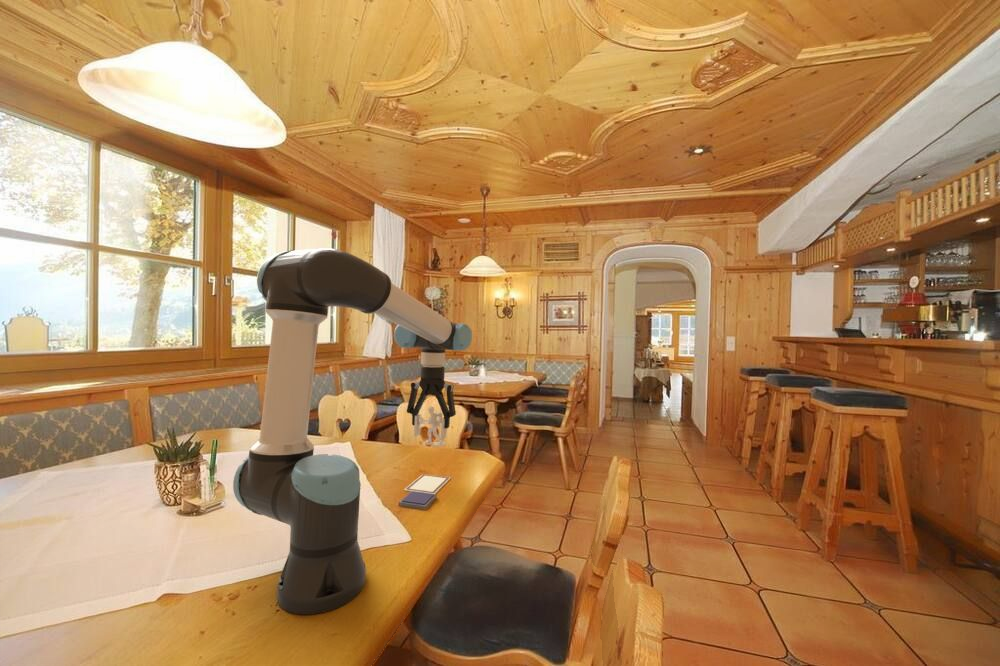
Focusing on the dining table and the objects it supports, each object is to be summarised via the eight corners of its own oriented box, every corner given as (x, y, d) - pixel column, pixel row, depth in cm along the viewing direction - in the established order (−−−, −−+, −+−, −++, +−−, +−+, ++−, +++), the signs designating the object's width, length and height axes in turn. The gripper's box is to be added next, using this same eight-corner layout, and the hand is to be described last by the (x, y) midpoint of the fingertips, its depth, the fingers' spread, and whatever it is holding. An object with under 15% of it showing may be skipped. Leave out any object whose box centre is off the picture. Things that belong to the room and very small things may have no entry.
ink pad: (425, 509, 108) (425, 505, 108) (398, 505, 109) (398, 501, 109) (436, 498, 115) (436, 493, 115) (411, 494, 117) (411, 490, 117)
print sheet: (434, 494, 118) (434, 493, 118) (403, 490, 120) (403, 489, 120) (450, 478, 131) (450, 477, 131) (422, 474, 133) (422, 473, 133)
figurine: (443, 447, 123) (446, 409, 123) (414, 444, 123) (416, 406, 123) (446, 443, 128) (448, 406, 127) (418, 440, 128) (420, 403, 128)
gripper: (468, 366, 127) (465, 437, 127) (407, 363, 132) (405, 431, 132) (460, 368, 119) (457, 443, 119) (396, 364, 124) (394, 436, 124)
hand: (430, 436), depth 126 cm, fingers closed on figurine, 8 cm apart
